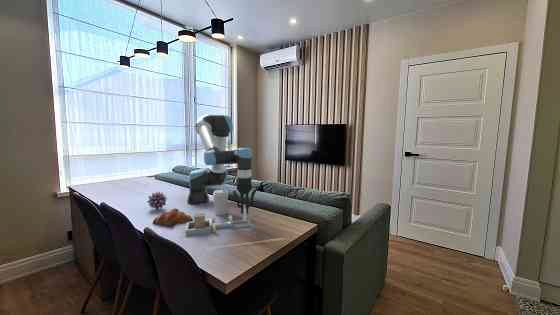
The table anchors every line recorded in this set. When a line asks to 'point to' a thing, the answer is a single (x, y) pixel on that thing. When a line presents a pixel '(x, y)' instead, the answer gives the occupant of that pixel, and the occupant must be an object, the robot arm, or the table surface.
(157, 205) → the spiky ball
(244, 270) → the table surface
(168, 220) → the pastry
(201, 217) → the jaw block
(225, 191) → the coffee cup
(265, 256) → the table surface
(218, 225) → the gate
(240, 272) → the table surface
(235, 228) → the housing
